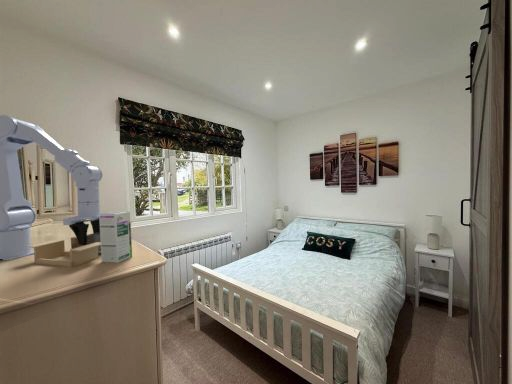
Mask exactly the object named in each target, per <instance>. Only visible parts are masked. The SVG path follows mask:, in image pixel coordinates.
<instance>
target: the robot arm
mask: <svg viewBox="0 0 512 384" xmlns="http://www.w3.org/2000/svg"><path fill="white" fill-rule="evenodd" d="M32 143H35V144H36V145H38V146H39V147H41V148H43V149H44V150H45V151H46V152H48V153H49V154H51V155H53V156H54V162H56V163H57V164H58V165H59V166H60V167H62V168H63V169H65V171H67V173H69V174H70V175H71V178H72V180H73V182H75V187H76V194H77V195H76V197H77V215H76V216H71V217H66V218H63V219H62V221H63V222H62V224H63V226H68V227H69V228H70V230H72V232H73V233H74V235H75V237H77V240H78V242H79V245H86V243H87V235H88V230H89V226H90V224H91V227H92V234H93V233H97V232H100V221H99V215H100V214H104V213H108V212H106V211H105V212H101V211H100V210H101V209H100V207H101V206H100V185H99V184H100V183H99V182H100V181H101V180H102V178H103V172H102V170H101V169H100V168H99V167H98V166H96V165H91V164H90V161H88V160H85V159H84V158H82V157H81V156H80V155H79V152H78V151H77V150H72V149H69V148H66V149H65V148H64V147H63V146H61V144H59V143H58V142H57V141H56V140H55V139H53V138H52V137H51V136H50V135H49V134H48V133H46V131H45V130H44V129H43V128H42V127H40V126H39V125H38V124H36V123H33V122H29V121H25V120H23V119H22V120H21V119H18V118H15V117H12V116H9V115H5V114H2V115H1V114H0V259H3V260H2V261H10V260H15V259H19V258H23V257H27V256H30V255H31V256H32V255H34V250H32V248H30V247H26V246H29V245H32V242H31V241H32V239H31V238H32V237H31V227H33V224H34V223H35V222H36V219H37V213H36V210H35V209H34V208H33V203H32V202H31V201H29V200H28V199H26V198H25V196H24V190H23V183H22V176H21V175H22V174H21V170H20V162H19V155H18V150H20V149H21V148H24V147H27V146H28V145H30V144H32ZM87 222H90V224H89V223H87Z"/></svg>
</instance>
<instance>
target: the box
mask: <svg viewBox="0 0 512 384" xmlns="http://www.w3.org/2000/svg"><path fill="white" fill-rule="evenodd" d="M95 242H101V239H100V232H97V233H93V232H92V233H90V234H87V243H86V245H88V244H92V243H95ZM81 246H84V245H79V242H78V240H77V237H76V236H72V237H70V247H71V248H70V249H73V248H77V247H81ZM98 253H101V245H100V246H98Z"/></svg>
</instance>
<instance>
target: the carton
mask: <svg viewBox="0 0 512 384" xmlns="http://www.w3.org/2000/svg"><path fill="white" fill-rule="evenodd" d="M65 245H66V244H65V240H64V239H52V240H47V241H43V242H40V243H34V244H31V245H29V246H26V247H30V248H31V249H32V248H33V251H34V254H33V255H34V264H38V265H40V264H41V265H49V266H58V267H59V266H60V267H69V268H70V267H71V268H73V267H76V266H79V265H82V264H84V263H87V262H90V261H93V260H97V259H99V252H98V246H100V245H101V242H95V243H92V244H88V245H84V246H81V247H77V248H73V249H71V248H70V249H69V250H65Z"/></svg>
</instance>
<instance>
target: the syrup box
mask: <svg viewBox="0 0 512 384" xmlns="http://www.w3.org/2000/svg"><path fill="white" fill-rule="evenodd" d="M103 213H104V214H100V215H99V221H100V239H101V252H100V255H101V257H100V258H101V262H103V263H115V264H118V263H120V262H123V261H125V260H127V259H129V258H132V257H133V246H132V242H133V241H132V224H131V212H130V211H128V210H127V211H126V210H122V211H121V210H119V211H113V212H107V213H106V212H103Z"/></svg>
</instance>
